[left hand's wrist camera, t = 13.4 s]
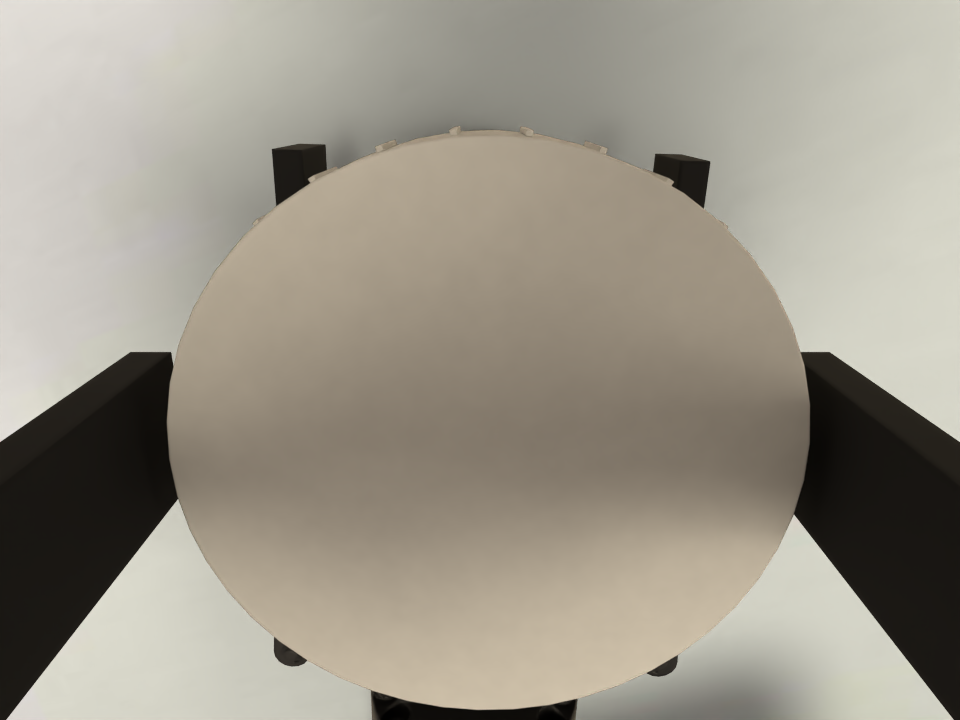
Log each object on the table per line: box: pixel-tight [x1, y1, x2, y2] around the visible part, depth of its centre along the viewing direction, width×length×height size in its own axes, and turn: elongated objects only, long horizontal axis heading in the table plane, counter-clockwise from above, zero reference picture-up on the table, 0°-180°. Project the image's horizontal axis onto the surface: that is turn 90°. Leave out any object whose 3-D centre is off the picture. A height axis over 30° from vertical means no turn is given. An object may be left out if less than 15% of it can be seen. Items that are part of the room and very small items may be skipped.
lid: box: [167, 126, 810, 710], centre depth 12 cm, size 10×10×2 cm
